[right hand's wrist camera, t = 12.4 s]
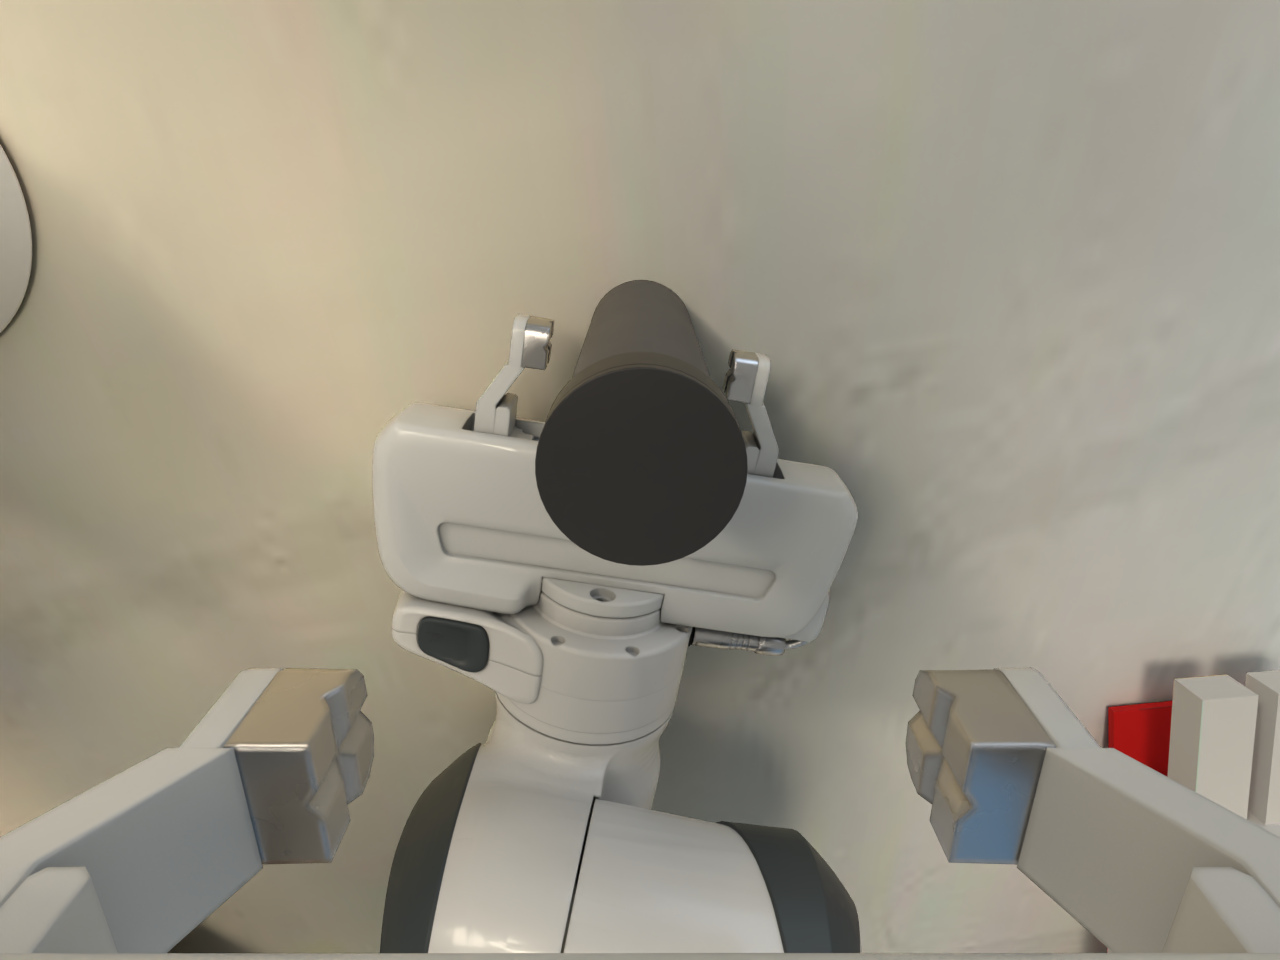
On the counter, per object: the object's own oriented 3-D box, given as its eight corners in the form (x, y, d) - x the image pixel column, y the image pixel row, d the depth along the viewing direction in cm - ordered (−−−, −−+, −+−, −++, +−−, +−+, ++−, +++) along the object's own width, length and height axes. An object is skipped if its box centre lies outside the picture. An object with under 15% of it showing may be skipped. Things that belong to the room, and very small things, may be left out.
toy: (1493, 737, 33) (1401, 1246, 40) (1255, 610, 46) (1218, 1011, 53) (1202, 759, 33) (1163, 1257, 40) (1049, 628, 46) (1040, 1022, 53)
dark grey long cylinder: (570, 323, 36) (509, 451, 19) (649, 258, 35) (657, 334, 18) (633, 399, 37) (627, 580, 21) (711, 339, 36) (771, 479, 20)
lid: (503, 432, 21) (490, 456, 19) (658, 308, 19) (659, 321, 18) (626, 569, 22) (625, 602, 20) (777, 462, 21) (789, 487, 19)
